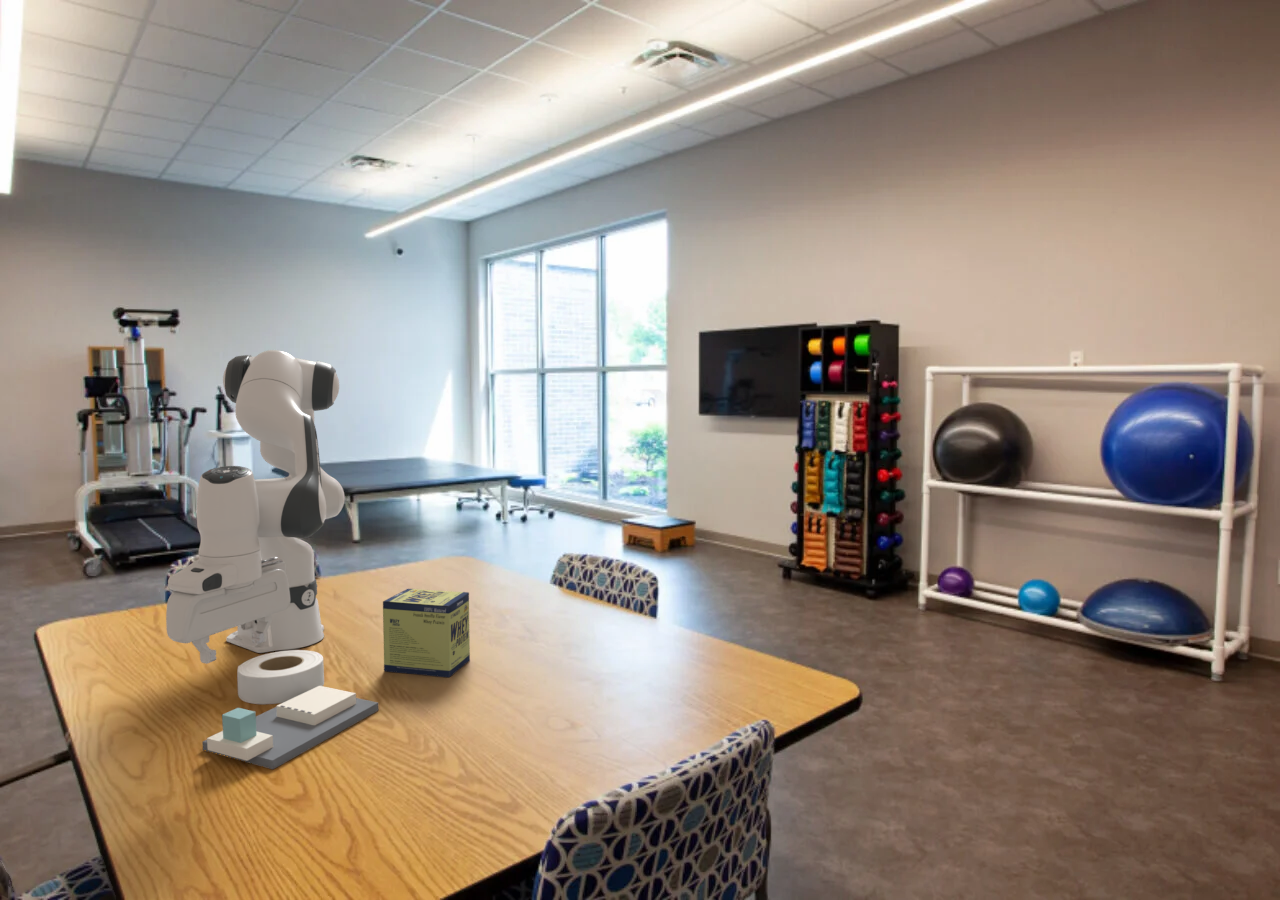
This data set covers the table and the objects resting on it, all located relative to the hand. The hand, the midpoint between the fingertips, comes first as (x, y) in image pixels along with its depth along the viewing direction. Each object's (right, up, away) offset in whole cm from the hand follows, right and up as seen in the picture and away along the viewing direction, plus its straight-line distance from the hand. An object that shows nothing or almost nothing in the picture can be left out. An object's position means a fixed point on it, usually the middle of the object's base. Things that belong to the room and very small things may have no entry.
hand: (234, 651), depth 125 cm
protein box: (+20, -14, +42) cm, 49 cm away
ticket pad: (+7, -15, +16) cm, 23 cm away
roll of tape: (-6, -16, +30) cm, 34 cm away
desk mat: (+5, -17, +12) cm, 21 cm away
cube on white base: (0, -16, +1) cm, 16 cm away
